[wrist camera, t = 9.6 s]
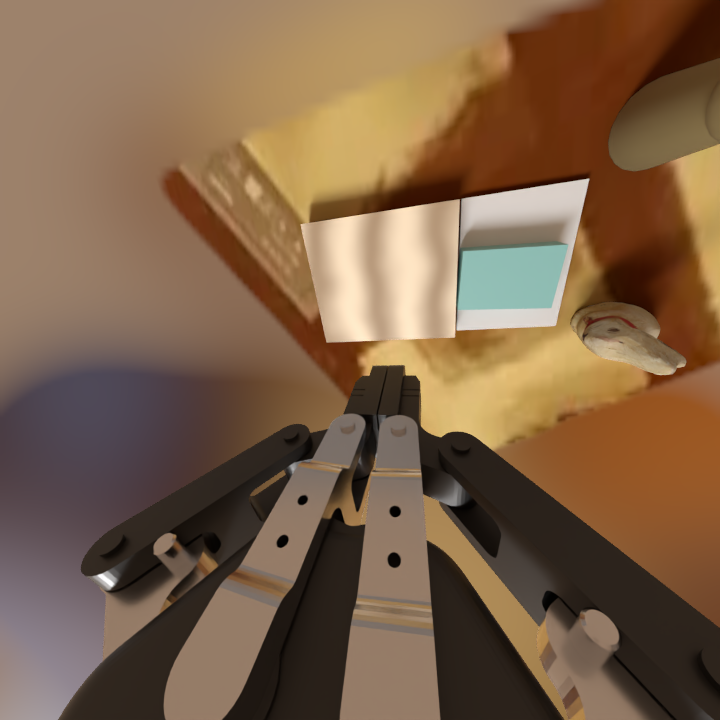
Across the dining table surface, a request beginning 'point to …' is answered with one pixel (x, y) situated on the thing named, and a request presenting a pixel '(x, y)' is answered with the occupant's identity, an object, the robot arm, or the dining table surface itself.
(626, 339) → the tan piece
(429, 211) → the cream flat block
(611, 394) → the dining table surface
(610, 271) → the dining table surface
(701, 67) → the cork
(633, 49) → the dining table surface
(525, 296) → the teal rectangular block
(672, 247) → the dining table surface
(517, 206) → the mat
